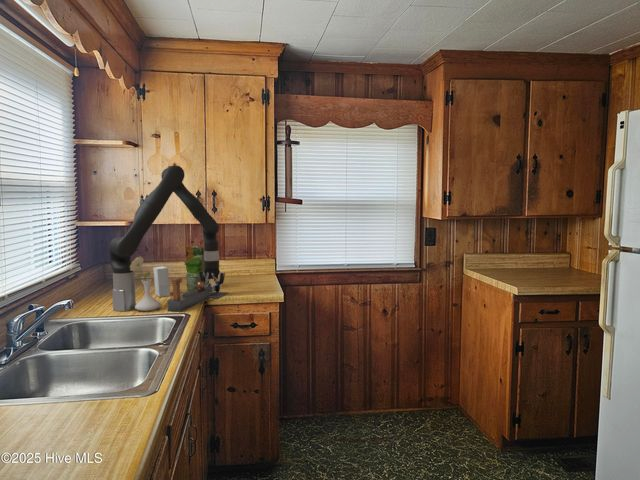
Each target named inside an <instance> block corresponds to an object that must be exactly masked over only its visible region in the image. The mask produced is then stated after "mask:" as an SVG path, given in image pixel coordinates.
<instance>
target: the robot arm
mask: <svg viewBox="0 0 640 480" xmlns="http://www.w3.org/2000/svg"><path fill="white" fill-rule="evenodd" d="M160 176H161V180H160V182H159V184H158V185H157V186H156V187H154V189H153V190H152V191H151V192H150V193H149V194H148V195H146V197H145V198H144V200H143V201H142V202H141V203H140V205H138V206H139V207H138V208H137V210H136V212H135V214H134V218H133V221H132V224H131V227H130V228H129V229H128V230H127V232H126V233H125V234H124V236H117V237H114V238H112V239H111V241H110V242H109V247H108V251H109V261H110V262H109V263H110V266H111V269H112V282H113V283H112V285H113V289H112V290H111V291H112V292H111V293H112V296H111V297H112V309H113V311H115V312H116V311H117V312H126V311H132V310H136V308H135V305H136V304H137V299H136V297H137V295H136V279H135V277H136V276H135V275H136V274H135V271H131V270H130V269H131V268H130V265H131V264H132V260H131V257H132V256H133V255H134V254H135V253H136V251H137V249H138V247H139V245H140V244H141V243H142V240H143V238H144V236H145V235H146V233H147V232H148V231H149V229H150V228H151V226H152V225H153V224H154V222H155V220H156V219H157V218H158V216H159V215H160V214H161V212H162V211H163V209H164V208H165V205H166V204H167V202H168V200H169V199H170V197H171V196H172V195H173V193H174V194H175V195H176V197H178V198H179V199H180V200H181V202H182V203H183V205H184V206H186V208H187V210H188V211H189V212H190V213H191V215H192V216H193V217H194V219H195V220H196V221H197V222H199V224H200V225H201V226H202V233H203V235H202V237H203V240H204V241H203V245H204V246H203V248H204V268H205V270H204V272H203V271H202V272H199V275H200V279H201V281H204V284H205V285H207V284H209V283H210V281H211V280H213V282H214V283H216V291H215V292H221V291H220V290H221V289H220V284H221V285H222V284H224V282H225V281H224V280H225V275H226V272H221V271H220V252H219V241H218V239H217V233H218V232H219V229H220V227H219V224H218V223H217V221H216V220H215V219H214V218H213V217H212V215H211V214H210V213H209V212H208V210H207V209H206V207H205V206H204V205H203V203H202V202H201V200H200V199H198V197H196V196H195V195H194V194H193V193H191V191H189V189H188V188H187V187H186V185H184V183H183V181H184V179H185V171H184V169H183V167H181V166H180V165H177V164H176V165H170V166H168V167H166V168H165V169H164V170H162V172H161V175H160ZM204 275H206V279H205V276H204Z"/></svg>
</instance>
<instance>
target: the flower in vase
mask: <svg viewBox="0 0 640 480" xmlns="http://www.w3.org/2000/svg"><path fill="white" fill-rule="evenodd" d="M131 263H132V264H131V265H130V268H131V269H130V270H131V271H134V272H136V271H138V270H139V269H140V272H141V273H138V274H137V275H136V276H135V280H137V279H141V278H142V277H143V278H144V279H141V280H140V281H141V283H142V284H143V288H144V295H143V297H142V298H141V299H139V301H137V302H136V305H135V310H138V311H142V312H143V311H145V312H146V311H147V312H148V311H153V310H157V309H159V308H160V307H161V306H162V303H161V302H160V301H158V299H156V298H154V297H153V296H152V295H151V283H152V281H153V279H152V278H148V277H151V271H148V272H146V273H143V269H142V268H141V267H142V266H143V264H144V257H142V256H138V257H135V258H134V260H133V261H131Z"/></svg>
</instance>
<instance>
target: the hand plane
mask: <svg viewBox="0 0 640 480" xmlns="http://www.w3.org/2000/svg"><path fill="white" fill-rule="evenodd" d="M182 279H183V278H182V277H176V278H173V279H171V285H172V296H173V297H172V298H170V299H167V312H173V313H174V312H175V313H181V312H185V311H186V310H188V309H190V308H192V307H195V306H197V305H199V304H202V303H204V302H206V301H208V300H210V298H209V289H204V281H199V282H197V284H198V289H191V290H186V291H183V292H182V294H181V287H180V286H181V283H182V282H183V280H182Z"/></svg>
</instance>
